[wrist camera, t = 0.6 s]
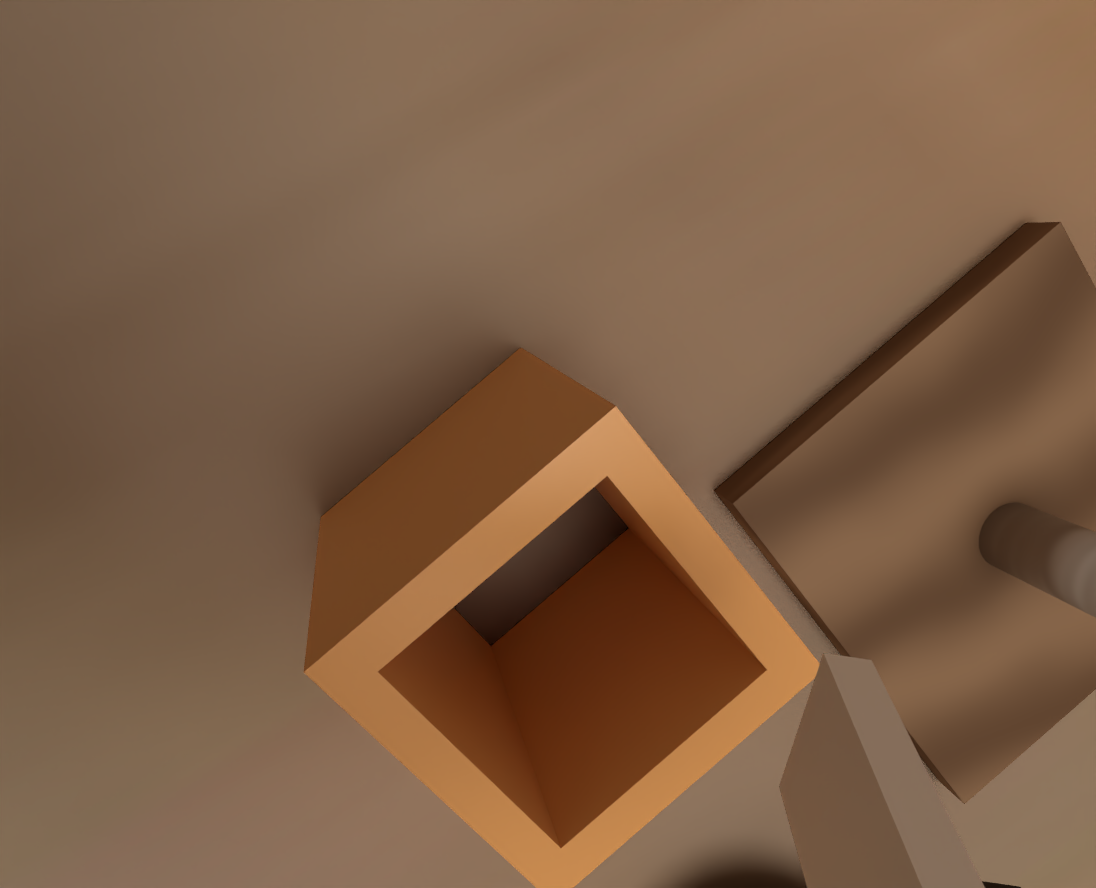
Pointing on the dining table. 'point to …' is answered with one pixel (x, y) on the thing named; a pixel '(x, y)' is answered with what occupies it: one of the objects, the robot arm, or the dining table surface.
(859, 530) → the shaft stand
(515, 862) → the spacer sleeve
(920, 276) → the dining table surface
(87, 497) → the dining table surface
